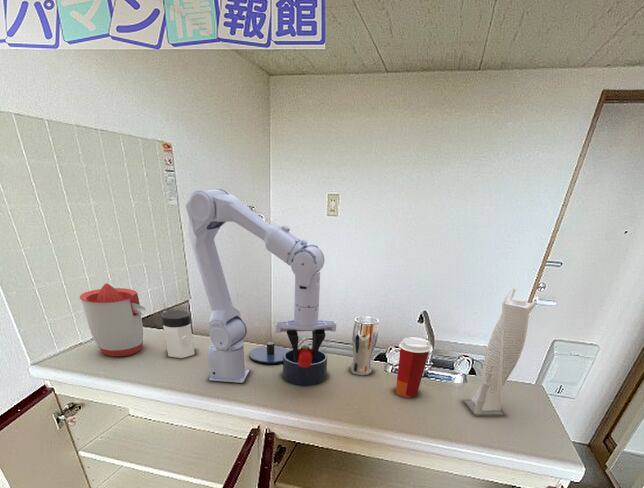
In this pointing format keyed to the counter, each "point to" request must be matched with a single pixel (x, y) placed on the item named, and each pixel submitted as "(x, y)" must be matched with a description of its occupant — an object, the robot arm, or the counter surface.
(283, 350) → the lid
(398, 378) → the paper cup
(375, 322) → the beer glass
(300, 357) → the strawberry
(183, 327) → the jar
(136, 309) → the citrus juicer
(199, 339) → the counter surface
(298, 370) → the pot
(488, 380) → the skyscraper
